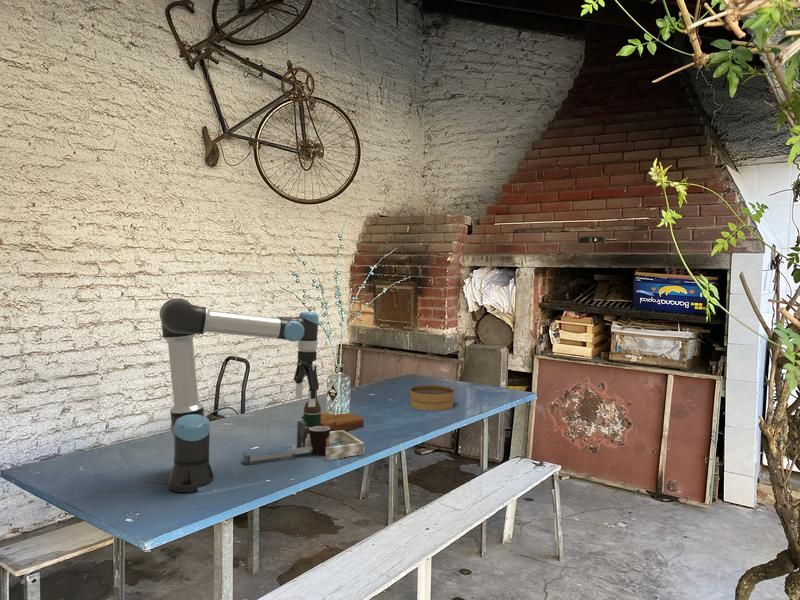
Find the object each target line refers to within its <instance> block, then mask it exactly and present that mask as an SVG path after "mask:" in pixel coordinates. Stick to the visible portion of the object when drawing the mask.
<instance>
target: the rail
mask: <svg viewBox="0 0 800 600" xmlns="http://www.w3.org/2000/svg"><path fill="white" fill-rule="evenodd" d="M291 459H293V454H291V453H290V452H289V451H287V452H282V453H281V452H280V453H274V454H266V455H260V456H252V457H251V454H250V453H249V452H248V451H244V452H242V463H243V464H244V465H245V466H250V465H256V464H257V465H258V464H263V463H264V464H265V463H270V462H271V463H272V462H277V461H285V460H291Z"/></svg>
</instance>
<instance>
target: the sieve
mask: <svg viewBox="0 0 800 600" xmlns="http://www.w3.org/2000/svg"><path fill="white" fill-rule="evenodd" d="M408 391H409V393H408V395H409V398H410V401H409V402H410V403H409V404H410V407H411V408H413V409H417V410H421V411H445V410H449V409H451V408H453V407H454V400H455V389H453V388H452V387H449V386H445V385H444V386H443V385H436V384H435V385H431V384H424V385H416V386H412V387H410V388H409V390H408Z"/></svg>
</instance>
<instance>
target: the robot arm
mask: <svg viewBox="0 0 800 600" xmlns="http://www.w3.org/2000/svg"><path fill="white" fill-rule="evenodd" d="M159 319H160V321H161V324H160V325H161V332H162V333H161V334H162V338H163V339H164V340H166V342H167V348H168V356H169V367H170V375H171V376H170V379H171V386H172V387H171V389H172V397H173V406H172V407H171V409H169V412H170V423H171V424H170V430H171V434H172V436H173V446H174V447H173V465H172V468H171V471H170V473H169V475H168V476H169V477H168V478H167V487H168V489H169V490H170V491H174V492H178V493H196V492H198V491H199V490H198V488H201V487H205V486H207V485H210V484H211V483H213V482H214V479H215V478H214V477H215V476H214V473H213V470H212V467H211V464H210V437H211V436H210V435H211V434H210V433H211V424H210V420H209V418H208V417H207V416H205V409H204V404H203V403H201V402H200V401H199V391H198V382H197V371H196V370H197V369H196V361H195V360H196V359H195V350H194V348H195V347H194V338H195V336H197V335H204V334H206V333H215V334H222V335H223V334H225V335H233V336H234V335H236V336H247V337H257V338H266V339H276V340H277V339H278V340H285V341H289V342H297V349H298V351H297V363H296V364H297V365H296V368H295V373H294V377H293V381H294V383H295V397H294V398H295V400H302V399H303V391H304V389H303V387H304V378H305V377H306V379H307V382H308V387H309V388H310V389H308V390H307V391H308V398H309V399H307V401H308V407H315V402H316V390H317V391H318V390H319V389H320V385H319V380H318V373H317V372H318V371H317V365H316V364H313V362H315V361H317V359H318V358H317V356H318V355H317V354H318V352H317V349H318V343H319V342H318V334H319V333H318V330H319V314H318V313H317V312H314V311H301V312H299V315H298V316H295V317H294V316H271V317H267V316H259V315H252V314H250V315H249V314H244V313H243V314H241V313H234V312H224V311H215V310H209V308H208V307H207V306H199V305H196V304H195V305H194V304H193V303H191V302H189V301H188V300H187V299H184V298H181V297H180V298H172V299H169V300H167V301H166V302H165V303H163V305H162V306H161V307H160V310H159Z"/></svg>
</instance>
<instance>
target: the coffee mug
mask: <svg viewBox="0 0 800 600" xmlns="http://www.w3.org/2000/svg"><path fill="white" fill-rule="evenodd" d="M309 432H310V441H311V446H312V448H313V450H311V454H312V455H315V456H321V455H326V452H325V440H329V435H330V427H326V426H315V427H311V428H309Z"/></svg>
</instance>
